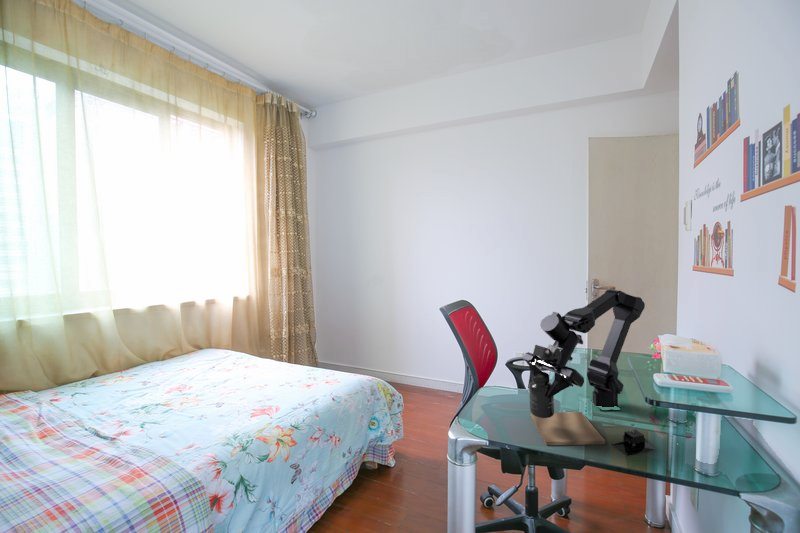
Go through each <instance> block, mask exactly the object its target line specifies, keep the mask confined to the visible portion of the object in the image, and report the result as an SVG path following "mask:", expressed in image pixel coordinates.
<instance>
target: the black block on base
mask: <svg viewBox="0 0 800 533" xmlns="http://www.w3.org/2000/svg"><path fill="white" fill-rule="evenodd" d="M622 437H623V441H622V442H617V443H611V444H610V445H611V446H612V447H613V448H615V449H616V450H618V451H620V452H621V453H622V454H623V455H625V456H626V457H630V456H631V457H632V456H635V455H639V454H640V455H641V454H644V453H648V452H649V453H650V452H653V451H657V449H656V448H655V447H653V446H652V445H650V444H649V443H648V442H646V438H645V435H644V434H643V433H641V432H640V431H638V430H637V429H632V430H627V431H626V430H625V431H624V434H623V436H622Z"/></svg>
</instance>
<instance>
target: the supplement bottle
mask: <svg viewBox="0 0 800 533" xmlns="http://www.w3.org/2000/svg"><path fill="white" fill-rule="evenodd" d="M550 381H551V380H550V375H549V373H547V372H546V371H542V372H534V373H533V374H532V382H531V383H530V384H529V383H528V384H529V388H528V394H529V398H528V400H529V411H530V413H532V414H533V415H534V416H536V417H539V418H549V417H552V416H553V415H554V413H555V395H554V396H552V397H551V398H549V399H548V398H547V397H546V396H547V393H548V391H549V389H550V387H551V385H552V383H551V382H550Z"/></svg>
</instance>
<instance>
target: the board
mask: <svg viewBox="0 0 800 533" xmlns="http://www.w3.org/2000/svg"><path fill="white" fill-rule="evenodd" d="M530 418H531V420H532V421H533V424H534V425H535V427H536V429H537V431H538V433H539V435H540V436H541V438H542V440H543V441H544V443H545V445H546V446H562V445H563V446H569V445H570V446H573V445H576V446H578V445H606V440H605V439H604V437H603V436H602V435H601V434H600V432H599V431H598V430H597V428H595V427H594V425H593V424H592V423H591V422H590V420H589V419H588V418H587V417H586V416H585V414H583V412H582V411H567V412H565V411H563V412H562V411H559V412H554V415H553V416H552V417H549V418H539V417H536V416H534V415H533V414H532V413H531V412H530Z"/></svg>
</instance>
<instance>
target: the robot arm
mask: <svg viewBox="0 0 800 533" xmlns="http://www.w3.org/2000/svg"><path fill="white" fill-rule="evenodd" d="M645 307H646V304H645V302H644V301H643V299H642V297H639V296H633V295H631V294H628V293H626V292H624V291H622V290H616V289H606V290H605V291H604V293H603V294H602V295H600V296H598V297H597V298H595V299H593V300H592V301H591V302H590V303H588V304H586V306H583V307H580V308H579V307H578V308H574V309H572V310H569V311H567V312H566V313H565V314H564V315H563V316H562V314H560V312H556V311H552V313H551V314H549V315H546V316H545V317H544V318H542V319H541V320H540V329H541V330H542V331H543V332H544V333H545V334H546V335H548V337H549V338H550V339H552V340H553V341H554V343H553V344H549V345H548V346H547V347H544V346H542V345H538V344H535V345H534V349H533V353H532V352H529V351H528V352H525V353H524V354H523V356H522V360H523V361H524V362H526V364H527V365H528V367H529V379H528V386H527V389H529V384H530V383H531V382H532V374H533V373H534V372H543V371H542V370H543V369H545V370H548V371H550V372H552V373H554V379H553V381H552V383H551V384H552V385H551V387H550V389H549V391H548V393H547V396H546V397H547V398H548V399H549V398H551V397H552V396H554V397H555V395H557V394H559V393H560V392H562V391H563V390H566V389H568V388H569V387H574V385H575V386H577V387H579V388H582V387H583V385H584V383H585V377H584V376H583V375H582V373H580V372H579V371H577V369H575V368H572V367H569V366H568V365H567V364H568V362H569V361H570V362H572V361H573V359H574V358H573V357H572V354H573V352H574V351H575V349H576V348H577V347H578V346H577V345H578V344H579V345H584V341H583V338H582V335H581V334H577V333H576V332H578V333H582V334H587V333H589V332H590V331H591V329H593V327H594V326H595V325H596V320H598V318H600V317H601V316H603V315H604V314H606V313H607V312H608V311H610V310H612V312H613V316H614V319H613V321H612V324H611V327H610V330H609V332H608V335H607V337H606V341H605V343H604V346H603V348H602V351H601V353H600V356H599V357H598V358H597V359H593V358H592V359H591V360H590V362H589V365H588V368H587V370H586V376H587V377H586V378H587V380H588V383H589V386H591V387H593V391H592V400H593V402H592V404H593V403H594V404H593V405H594V406H595V407H596V406H602V407H614V406H618V407H619V405H618V404H619V403H618V401H619V399H618V398H619V395H620V394H621V393H622V392H623V391H624V390H623V389H624V384H623V383H622V381H621V380H620V379H619V374H620V373H619V369H618V365H617V362H618V360H619V358H620V354H621V353H622V352H621V351H622V349H623V348H624V344H625V341H626V338H627V336H628V333H629V330H630V327H631V325H632V324H633V323H634V322H636V320H638V319H639V318H640V317H641V316H642V313H643V311H644V310H645Z"/></svg>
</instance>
